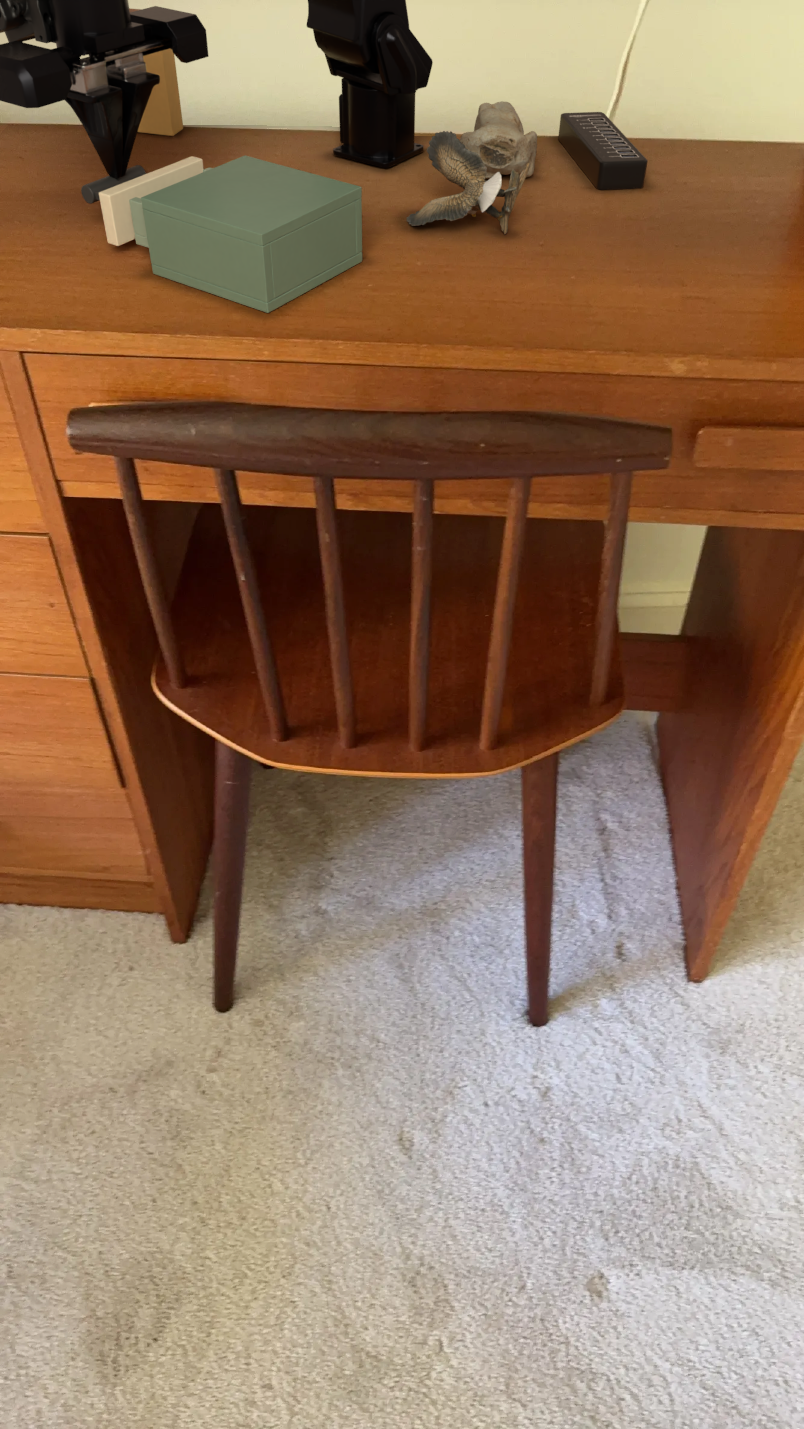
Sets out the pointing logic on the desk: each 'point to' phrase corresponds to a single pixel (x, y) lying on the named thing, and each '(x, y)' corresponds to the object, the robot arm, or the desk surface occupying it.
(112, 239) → the drawer
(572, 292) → the desk surface
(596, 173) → the multiport hub
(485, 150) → the sculpture
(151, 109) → the tan flat block
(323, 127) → the desk surface
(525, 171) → the eagle figurine
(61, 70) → the robot arm
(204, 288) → the cabinet
